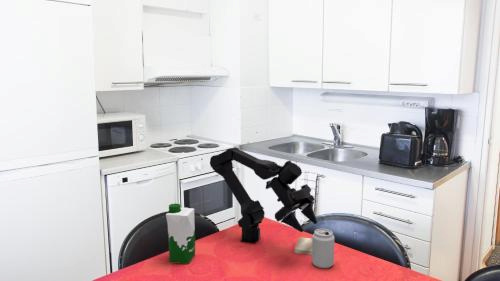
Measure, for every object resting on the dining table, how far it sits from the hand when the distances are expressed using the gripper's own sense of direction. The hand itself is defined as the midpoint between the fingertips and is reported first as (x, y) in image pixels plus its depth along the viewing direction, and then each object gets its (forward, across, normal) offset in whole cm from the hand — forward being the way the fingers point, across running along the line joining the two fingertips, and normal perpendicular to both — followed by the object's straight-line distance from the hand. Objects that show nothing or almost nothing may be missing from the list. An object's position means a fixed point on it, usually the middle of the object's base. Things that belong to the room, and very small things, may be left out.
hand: (309, 227), depth 140 cm
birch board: (+6, +8, +11) cm, 15 cm away
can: (+13, 0, +5) cm, 14 cm away
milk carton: (-17, -27, +34) cm, 47 cm away
